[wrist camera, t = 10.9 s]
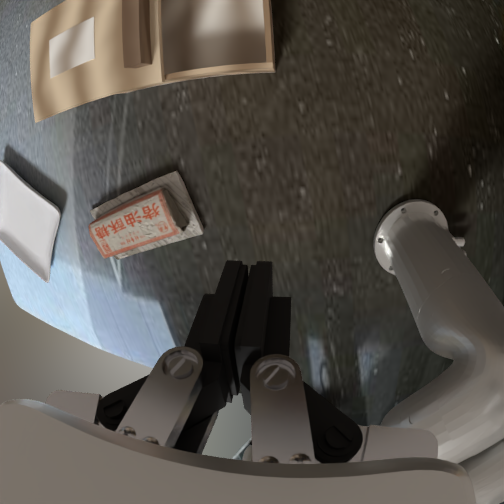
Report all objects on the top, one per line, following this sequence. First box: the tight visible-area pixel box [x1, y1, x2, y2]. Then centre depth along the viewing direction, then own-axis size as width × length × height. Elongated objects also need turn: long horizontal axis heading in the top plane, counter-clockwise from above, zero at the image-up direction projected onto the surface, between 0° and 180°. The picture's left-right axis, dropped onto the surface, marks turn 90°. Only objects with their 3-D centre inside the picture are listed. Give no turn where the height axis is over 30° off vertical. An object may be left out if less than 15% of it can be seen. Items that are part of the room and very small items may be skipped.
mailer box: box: [117, 0, 275, 94], centre depth 23 cm, size 20×16×6 cm
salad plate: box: [0, 161, 61, 283], centre depth 43 cm, size 21×21×3 cm
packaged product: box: [89, 171, 204, 260], centre depth 40 cm, size 18×5×10 cm
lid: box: [30, 0, 165, 123], centre depth 20 cm, size 21×17×3 cm
